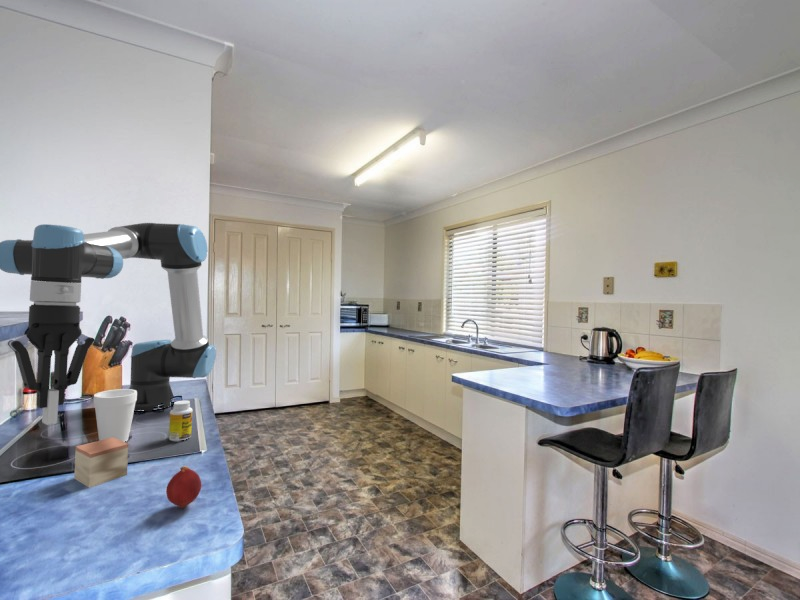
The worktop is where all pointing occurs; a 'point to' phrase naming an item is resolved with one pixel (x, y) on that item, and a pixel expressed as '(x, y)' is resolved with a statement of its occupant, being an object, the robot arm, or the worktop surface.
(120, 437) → the foam cup
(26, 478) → the worktop surface
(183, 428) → the supplement bottle
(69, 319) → the robot arm
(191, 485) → the onion
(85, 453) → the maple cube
